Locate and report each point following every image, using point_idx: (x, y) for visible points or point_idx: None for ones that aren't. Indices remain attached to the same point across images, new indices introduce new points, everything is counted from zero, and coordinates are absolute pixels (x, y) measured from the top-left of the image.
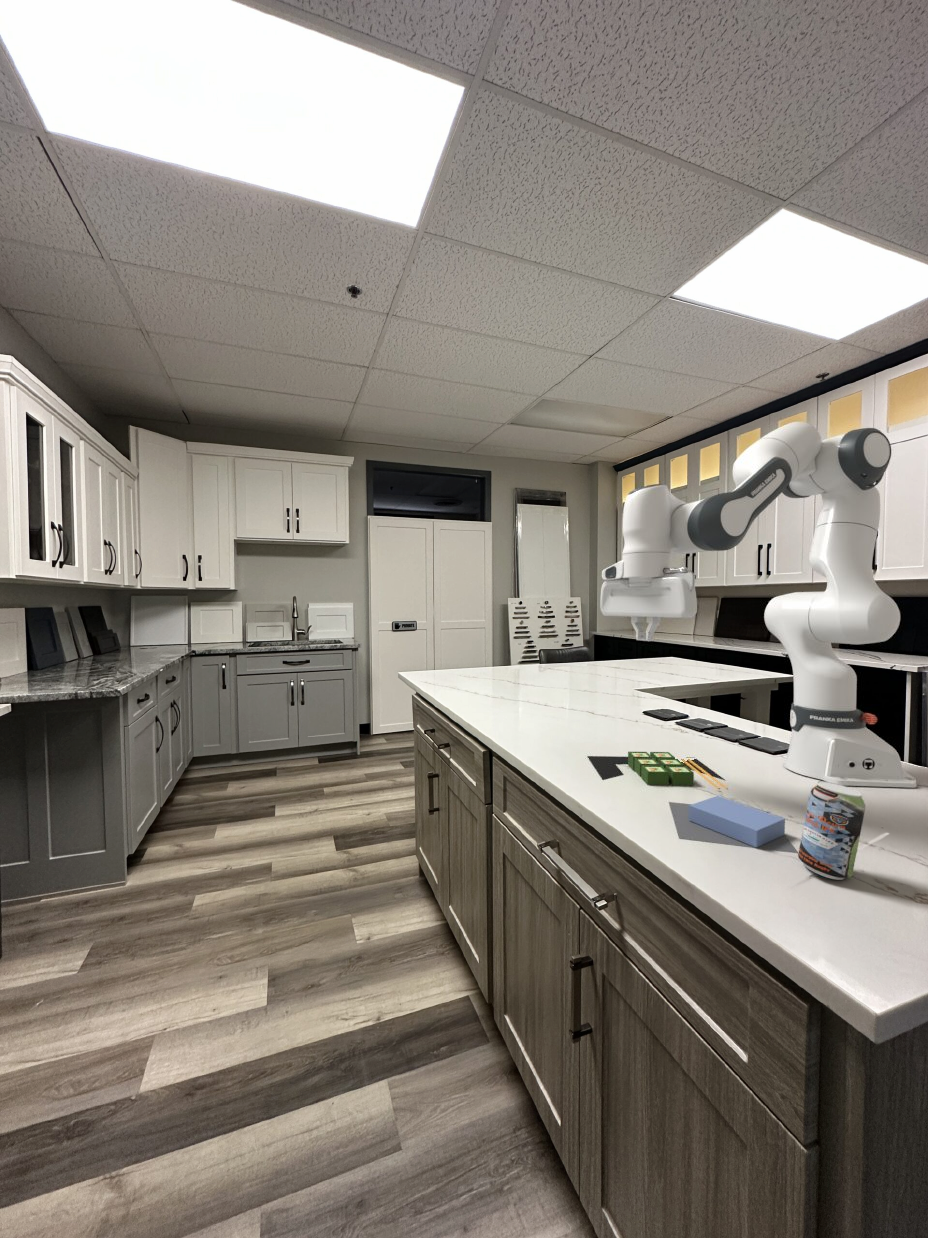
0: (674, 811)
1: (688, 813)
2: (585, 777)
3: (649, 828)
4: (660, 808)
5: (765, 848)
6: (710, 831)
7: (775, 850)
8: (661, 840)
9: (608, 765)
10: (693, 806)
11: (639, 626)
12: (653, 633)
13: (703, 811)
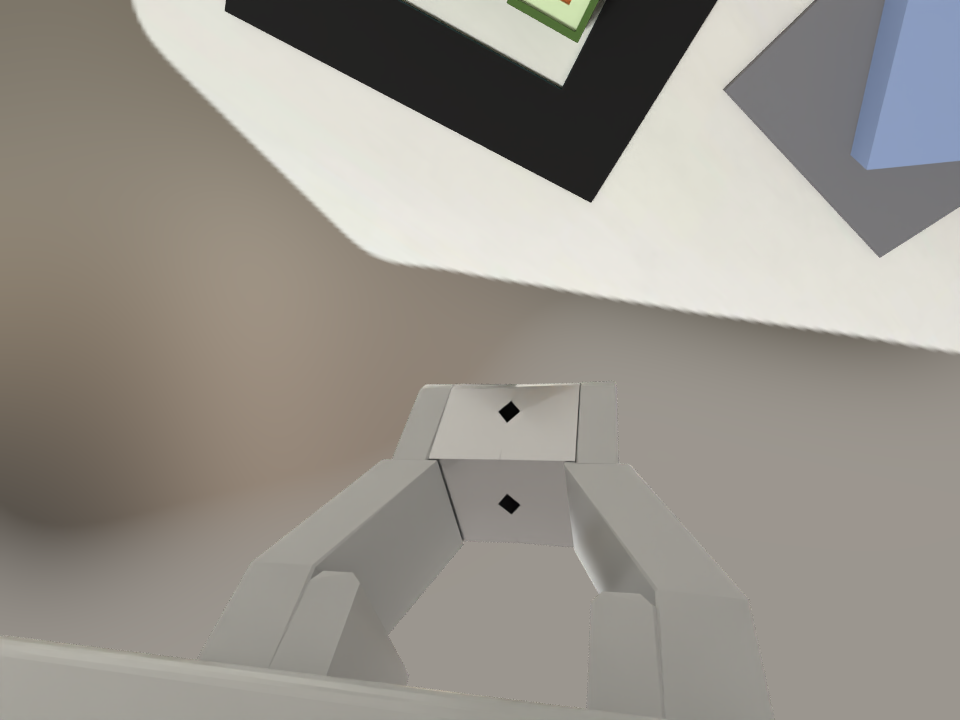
0: (781, 136)
1: (820, 106)
2: (425, 168)
3: (784, 261)
4: (726, 139)
5: None
6: None
7: None
8: (841, 283)
9: (346, 10)
10: (882, 164)
11: (400, 564)
12: (618, 454)
13: (921, 163)
